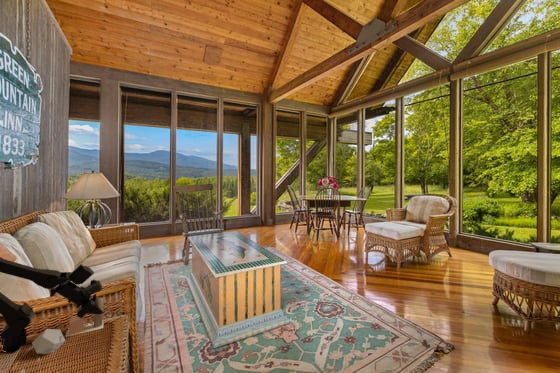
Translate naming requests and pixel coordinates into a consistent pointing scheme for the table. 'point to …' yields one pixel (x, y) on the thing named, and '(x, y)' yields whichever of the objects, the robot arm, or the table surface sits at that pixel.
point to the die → (48, 341)
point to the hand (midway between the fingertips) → (102, 311)
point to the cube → (76, 324)
